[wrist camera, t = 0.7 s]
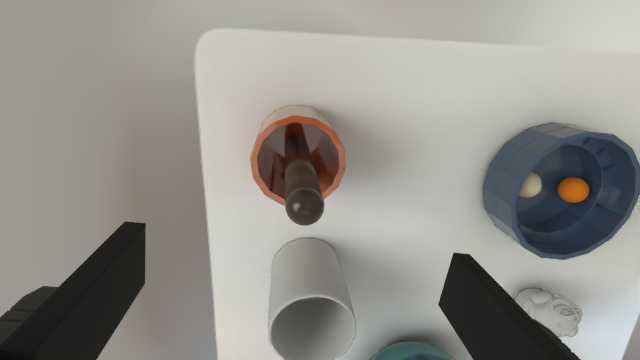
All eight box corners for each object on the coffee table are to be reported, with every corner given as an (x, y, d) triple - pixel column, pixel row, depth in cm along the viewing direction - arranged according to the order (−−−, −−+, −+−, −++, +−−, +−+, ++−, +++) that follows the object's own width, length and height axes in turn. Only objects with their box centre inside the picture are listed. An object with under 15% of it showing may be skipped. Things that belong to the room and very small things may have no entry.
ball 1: (510, 166, 41) (527, 174, 38) (533, 169, 42) (551, 177, 39) (502, 190, 42) (518, 200, 39) (525, 193, 43) (542, 202, 40)
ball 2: (556, 172, 42) (576, 180, 39) (579, 175, 43) (600, 183, 40) (548, 196, 43) (566, 205, 40) (570, 198, 43) (590, 208, 41)
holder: (260, 99, 37) (254, 109, 29) (339, 110, 38) (353, 123, 30) (253, 174, 39) (246, 201, 32) (328, 182, 40) (338, 211, 33)
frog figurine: (554, 301, 49) (596, 338, 42) (507, 322, 49) (541, 362, 43) (544, 267, 47) (587, 301, 41) (495, 289, 47) (529, 326, 41)
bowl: (501, 114, 40) (537, 123, 34) (612, 130, 42) (663, 141, 36) (467, 229, 44) (494, 253, 38) (569, 239, 46) (609, 263, 40)
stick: (286, 132, 38) (288, 192, 20) (308, 134, 38) (329, 196, 21) (283, 153, 38) (283, 230, 21) (305, 156, 39) (323, 233, 21)
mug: (267, 239, 42) (262, 298, 32) (339, 233, 43) (357, 289, 32) (276, 323, 46) (274, 399, 35) (341, 316, 46) (358, 389, 36)
